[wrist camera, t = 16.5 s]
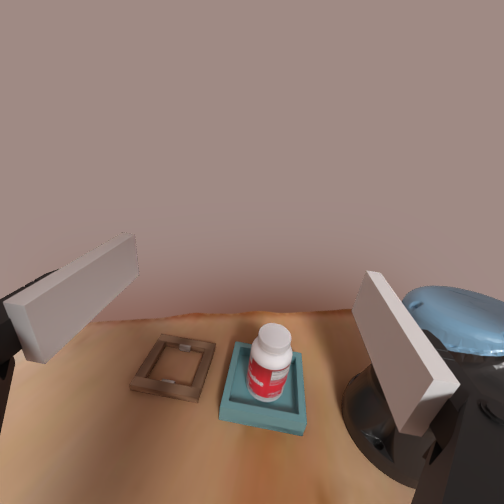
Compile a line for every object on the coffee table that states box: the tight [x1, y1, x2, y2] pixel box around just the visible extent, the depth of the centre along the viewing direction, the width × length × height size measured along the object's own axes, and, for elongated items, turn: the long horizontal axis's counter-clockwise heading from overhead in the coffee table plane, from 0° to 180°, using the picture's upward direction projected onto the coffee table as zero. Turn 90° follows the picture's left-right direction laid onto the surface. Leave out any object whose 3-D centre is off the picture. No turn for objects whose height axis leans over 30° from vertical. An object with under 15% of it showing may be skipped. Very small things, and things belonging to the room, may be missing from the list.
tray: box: [219, 342, 307, 436], centre depth 39 cm, size 12×12×3 cm
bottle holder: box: [130, 334, 216, 403], centre depth 41 cm, size 11×11×1 cm
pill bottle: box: [246, 323, 293, 402], centre depth 37 cm, size 6×6×11 cm
